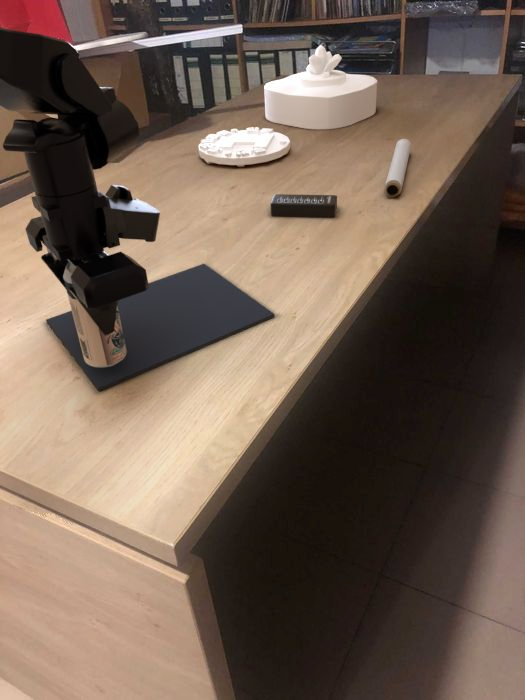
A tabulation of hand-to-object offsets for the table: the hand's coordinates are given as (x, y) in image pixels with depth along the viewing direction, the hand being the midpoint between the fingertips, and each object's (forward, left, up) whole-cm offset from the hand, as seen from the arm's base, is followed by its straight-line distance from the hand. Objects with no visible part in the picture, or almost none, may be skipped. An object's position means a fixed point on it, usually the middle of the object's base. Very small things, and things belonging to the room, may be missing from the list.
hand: (99, 323), depth 66 cm
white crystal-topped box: (+87, +68, -6) cm, 110 cm away
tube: (+69, +23, -6) cm, 73 cm away
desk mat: (+9, +6, -6) cm, 12 cm away
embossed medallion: (+55, +55, -6) cm, 78 cm away
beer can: (0, 0, -5) cm, 5 cm away
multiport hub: (+45, +21, -6) cm, 49 cm away
